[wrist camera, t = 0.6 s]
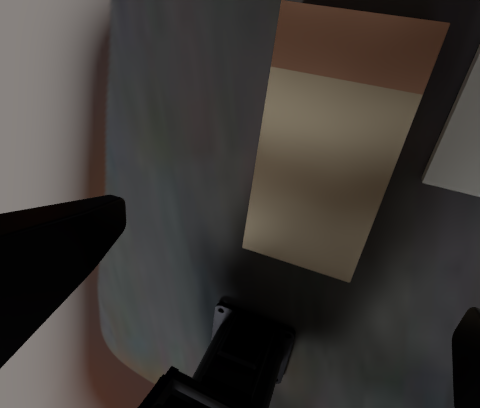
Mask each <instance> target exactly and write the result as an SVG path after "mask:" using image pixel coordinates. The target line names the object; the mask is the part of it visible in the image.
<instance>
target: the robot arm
mask: <svg viewBox="0 0 480 408" xmlns="http://www.w3.org/2000/svg"><path fill="white" fill-rule="evenodd" d="M125 227H126V207H125V201H124V199H123V198H120V197H117V196H114V195H105V196H99V197H94V198H88V199H83V200H77V201H71V202H65V203H60V204H54V205H48V206H42V207H37V208H31V209H25V210H20V211H14V212H8V213H3V214H0V368H1V367H2V366H3V365H4V364H5V363H6V362H7V361H8V360H9V359H10V358H11V357H12V356H13V355H14V354H15V352H16V351H17V350H18V349H19V348H20V347H21V346H22V345H23V344H24V343H25V342H26V341H27V340H28V339H29V338H30V337H31V336H32V334H33V333H34V332H35V331H36V330H37V329H38V328H39V327H40V326H41V325H42V324H43V323H44V322H45V321H46V320H47V319H48V318H49V317H50V315H51V314H52V313H53V312H54V311H55V310H56V309H57V308H58V307H59V306H60V305H61V304H62V303H63V302H64V301H65V300H66V299H67V298H68V296H69V295H70V294H71V293H72V292H73V291H74V290H75V289H76V288H77V287H78V286H79V285H80V284H81V283H82V282H83V281H84V280H85V278H87V276H88V275H89V274H90V273H91V272H92V271H93V270H94V269H95V267H96V266H97V265H98V264H99V262H100V261H101V260H102V259H103V257H104V256H105V255H106V253H107V252H108V251H109V249H110V248H111V247H112V246H113V244H114V243H115V242H116V240H117V239H118V238H119V236H120V235H121V234H122V233H123V231H124V229H125ZM221 308H222V309H221ZM287 333H288V334H287ZM295 335H296V332H295V330H294V329H292V328H290V327H288V326H285V325H282V324H280V323H277V322H274V321H271V320H269V319H266V318H263V317H261V316H258V315H255V314H253V313H250V312H247V311H245V310H242V309H239V308H236V307H234V306H231V305H228V304H226V303H223V302H219V303H218V304H217V306H216V308H215V314H214V322H213V331H212V339H211V343H210V345H209V347H208V349H207V351H206V353H205V355H204V356H203V358H202V360H201V362H200V364H199V366H198V368H197V370H196V372H195V373H194V375H193V377H192V378H191V377H189V376H187V375H185V374H184V373H182V372H180V371H179V369H177V368H175V367H173V366H171V367H170V369H169V370H168V371H167V373H166V374H165V375H164V374H163V375H162V377H160V378H159V380H158V381H157V383H156V384H155V386H154V387H153V389H152V390H151V391H150V393H149V394H148V395H147V397H146V398H145V399H144V400H143V402H142V403H141V404H140V406H139V407H138V408H269V405H270V401H271V398H272V394H273V391H274V387H275V384H279V383H281V380H282V377H283V374H284V371H285V367H286V364H287V361H288V358H289V355H290V351H291V348H292V345H293V342H294V338H295ZM452 361H453V390H454V407H455V408H480V309H479V308H476V307H472V308H470V309H468V310H467V312H466V313H465V315H464V317H463V318H462V320H461V321H460V323H459V324H458V326H457V328H456V329H455V331H454V333H453V336H452Z"/></svg>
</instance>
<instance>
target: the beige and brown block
mask: <svg viewBox="0 0 480 408" xmlns="http://www.w3.org/2000/svg"><path fill="white" fill-rule="evenodd" d="M449 26H450V23H446V22H439V21H431V20H424V19H417V18H409V17H402V16H394V15H387V14H380V13H372V12H365V11H357V10H350V9H343V8H335V7H328V6H321V5H313V4H306V3H298V2H291V1H284V0H281V6H280V12H279V18H278V25H277V31H276V37H275V44H274V50H273V56H272V63H271V69H270V75H269V82H268V88H267V94H266V101H265V107H264V113H263V119H262V126H261V132H260V138H259V145H258V151H257V157H256V164H255V170H254V176H253V183H252V189H251V195H250V201H249V208H248V214H247V220H246V227H245V233H244V239H243V246H242V248H245V249H248V250H251V251H254V252H257V253H260V254H263V255H266V256H269V257H272V258H275V259H278V260H282V261H285V262H288V263H291V264H294V265H297V266H300V267H303V268H306V269H309V270H312V271H315V272H318V273H321V274H324V275H327V276H330V277H334V278H337V279H340V280H343V281H346V282H349V283H350V281H351V279H352V276H353V274H354V271H355V269H356V266H357V263H358V261H359V258H360V256H361V253H362V250H363V248H364V245H365V243H366V240H367V238H368V235H369V232H370V230H371V227H372V225H373V222H374V220H375V217H376V214H377V212H378V209H379V207H380V204H381V201H382V199H383V196H384V194H385V191H386V189H387V186H388V183H389V181H390V178H391V176H392V173H393V170H394V168H395V165H396V163H397V160H398V158H399V155H400V152H401V150H402V147H403V145H404V142H405V139H406V137H407V134H408V132H409V129H410V127H411V124H412V121H413V119H414V116H415V114H416V111H417V109H418V106H419V103H420V101H421V98H422V96H423V93H424V90H425V88H426V85H427V83H428V80H429V78H430V75H431V72H432V70H433V67H434V65H435V62H436V59H437V57H438V54H439V52H440V49H441V47H442V44H443V41H444V39H445V36H446V34H447V31H448V29H449Z"/></svg>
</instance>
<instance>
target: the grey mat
mask: <svg viewBox="0 0 480 408" xmlns="http://www.w3.org/2000/svg"><path fill="white" fill-rule="evenodd" d="M421 180H422V183H425V184H429V185H433V186H437V187H441V188H445V189H449V190H454V191H458V192H462V193H466V194H470V195H474V196H478V197H480V45H479V47H478V49H477V52H476V54H475V56H474V59H473V61H472V63H471V65H470V68H469V70H468V72H467V75H466V77H465V79H464V81H463V84H462V86H461V88H460V91H459V93H458V95H457V97H456V100H455V102H454V104H453V107H452V109H451V111H450V113H449V116H448V118H447V120H446V123H445V125H444V127H443V129H442V132H441V134H440V136H439V139H438V141H437V143H436V145H435V148H434V150H433V152H432V154H431V157H430V159H429V161H428V164H427V166H426V168H425V170H424V173H423V175H422V177H421Z"/></svg>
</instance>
